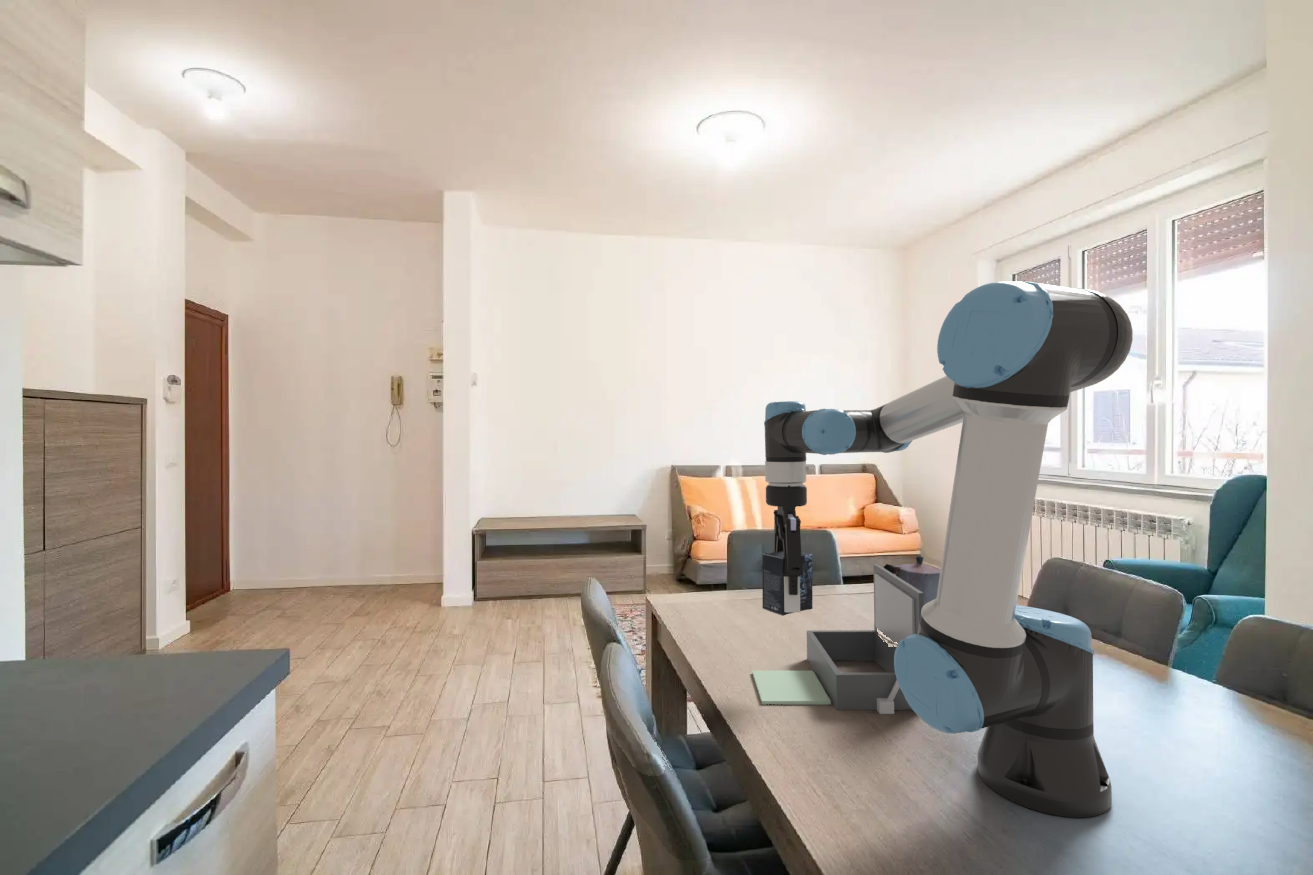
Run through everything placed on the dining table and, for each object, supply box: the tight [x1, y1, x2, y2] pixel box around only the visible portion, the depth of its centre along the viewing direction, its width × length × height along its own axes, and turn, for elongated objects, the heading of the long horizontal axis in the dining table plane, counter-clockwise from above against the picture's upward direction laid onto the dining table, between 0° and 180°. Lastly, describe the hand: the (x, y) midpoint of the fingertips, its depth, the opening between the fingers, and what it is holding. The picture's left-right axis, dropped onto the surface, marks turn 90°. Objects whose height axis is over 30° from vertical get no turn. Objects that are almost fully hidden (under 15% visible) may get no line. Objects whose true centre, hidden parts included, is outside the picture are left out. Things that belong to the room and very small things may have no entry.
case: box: [806, 563, 924, 715], centre depth 115 cm, size 26×16×20 cm, turn 178°
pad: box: [751, 670, 832, 706], centre depth 113 cm, size 14×12×1 cm
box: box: [762, 551, 813, 617], centre depth 113 cm, size 8×6×11 cm
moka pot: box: [883, 555, 941, 605], centre depth 135 cm, size 10×15×20 cm, turn 89°
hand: (787, 604), depth 113 cm, fingers closed on box, 9 cm apart
